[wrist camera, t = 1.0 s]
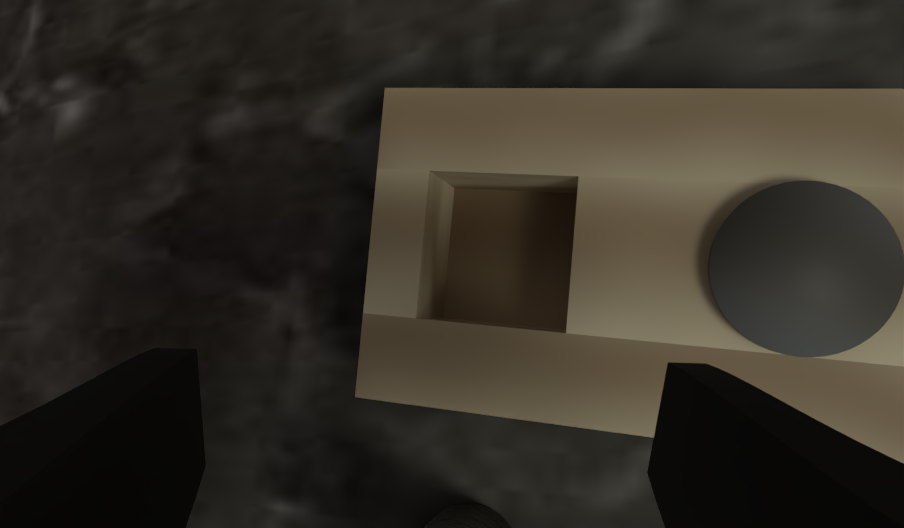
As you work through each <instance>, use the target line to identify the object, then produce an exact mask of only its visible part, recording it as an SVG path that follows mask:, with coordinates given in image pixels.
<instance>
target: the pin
mask: <svg viewBox="0 0 904 528" xmlns="http://www.w3.org/2000/svg"><path fill="white" fill-rule="evenodd" d="M424 528H511V527H510V525H509V524H508V523H507V522H506V520H505V519H504V518H503V517H502V516H500V515H499V514H498V513H497V512H495V511H494V510H492V509H490V508H488V507H486V506H484V505H481V504H477V503H469V502H468V503H458V504H454V505H451V506H449V507H447V508H445V509H444V510H442V511H441V512H440V513H438V514H437V515H436V516H435V517H434V518H433V519H432V520H431V521H430V522H429V523H428V524H427V525H426V526H425V527H424Z"/></svg>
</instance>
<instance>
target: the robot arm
mask: <svg viewBox="0 0 904 528" xmlns="http://www.w3.org/2000/svg"><path fill="white" fill-rule="evenodd" d="M204 469H205V452H204V439H203V426H202V412H201V399H200V386H199V373H198V359H197V349H165V348H154V349H152V350H149V351H147V352H144V353H142V354H140V355H137V356H135V357H133V358H131V359H129V360H127V361H125V362H123V363H121V364H119V365H118V366H116V367H114V368H112V369H110V370H108V371H106V372H104V373H103V374H101V375H99V376H97V377H95V378H93V379H91V380H89V381H88V382H86V383H84V384H82V385H80V386H78V387H76V388H74V389H72V390H71V391H69V392H67V393H65V394H63V395H61V396H59V397H57V398H56V399H54V400H52V401H50V402H48V403H46V404H44V405H42V406H40V407H38V408H36V409H34V410H32V411H30V412H28V413H26V414H24V415H22V416H20V417H18V418H16V419H14V420H12V421H10V422H7V423H5V424H3V425H1V426H0V528H185V527H186V525H187V522H188V519H189V516H190V513H191V510H192V507H193V504H194V501H195V498H196V495H197V492H198V488H199V485H200V482H201V478H202V475H203V472H204ZM647 473H648V476H649V479H650V482H651V486H652V489H653V492H654V495H655V498H656V502H657V505H658V508H659V510H660V513H661V516H662V519H663V522H664V525H665V528H904V464H903V463H901V462H899V461H897V460H895V459H893V458H891V457H889V456H887V455H885V454H883V453H881V452H879V451H877V450H875V449H873V448H870V447H868V446H866V445H864V444H862V443H860V442H858V441H856V440H854V439H852V438H850V437H848V436H846V435H845V434H843V433H841V432H839V431H837V430H835V429H833V428H831V427H829V426H827V425H825V424H823V423H822V422H820V421H818V420H816V419H814V418H812V417H810V416H808V415H807V414H805V413H803V412H801V411H799V410H797V409H796V408H794V407H792V406H790V405H788V404H786V403H785V402H783V401H781V400H779V399H777V398H775V397H773V396H772V395H770V394H768V393H766V392H764V391H762V390H761V389H759V388H757V387H755V386H753V385H751V384H749V383H748V382H746V381H744V380H742V379H740V378H738V377H736V376H734V375H732V374H730V373H728V372H726V371H723V370H721V369H719V368H717V367H714V366H711V365H709V364H706V363H673V362H668V364H667V369H666V375H665V380H664V385H663V391H662V396H661V402H660V407H659V413H658V418H657V423H656V429H655V434H654V440H653V445H652V451H651V456H650V461H649V467H648V472H647Z"/></svg>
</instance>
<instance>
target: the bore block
mask: <svg viewBox="0 0 904 528" xmlns="http://www.w3.org/2000/svg"><path fill="white" fill-rule="evenodd" d="M668 362H673V363H706V364H709V365H711V366H714V367H717V368H719V369H721V370H723V371H726V372H728V373H730V374H732V375H734V376H736V377H738V378H740V379H742V380H744V381H746V382H748V383H749V384H751V385H753V386H755V387H757V388H759V389H761V390H762V391H764V392H766V393H768V394H770V395H772V396H773V397H775V398H777V399H779V400H781V401H783V402H785V403H786V404H788V405H790V406H792V407H794V408H796V409H797V410H799V411H801V412H803V413H805V414H807V415H808V416H810V417H812V418H814V419H816V420H818V421H820V422H822V423H823V424H825V425H827V426H829V427H831V428H833V429H835V430H837V431H839V432H841V433H843V434H845V435H846V436H848V437H850V438H852V439H854V440H856V441H858V442H860V443H862V444H864V445H866V446H868V447H870V448H873V449H875V450H877V451H879V452H881V453H883V454H885V455H887V456H889V457H891V458H893V459H895V460H897V461H899V462H901V463H903V464H904V89H717V88H385V92H384V102H383V113H382V123H381V133H380V144H379V154H378V164H377V175H376V185H375V195H374V206H373V216H372V226H371V237H370V247H369V257H368V268H367V278H366V288H365V299H364V309H363V319H362V330H361V340H360V350H359V361H358V371H357V381H356V392H355V397H358V398H365V399H373V400H380V401H387V402H395V403H402V404H410V405H417V406H424V407H432V408H439V409H446V410H454V411H461V412H469V413H476V414H483V415H491V416H498V417H505V418H513V419H520V420H528V421H535V422H542V423H550V424H557V425H564V426H572V427H579V428H587V429H594V430H601V431H609V432H616V433H623V434H631V435H638V436H646V437H653V438H654V434H655V429H656V423H657V418H658V413H659V407H660V402H661V396H662V391H663V385H664V380H665V375H666V369H667V364H668Z"/></svg>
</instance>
